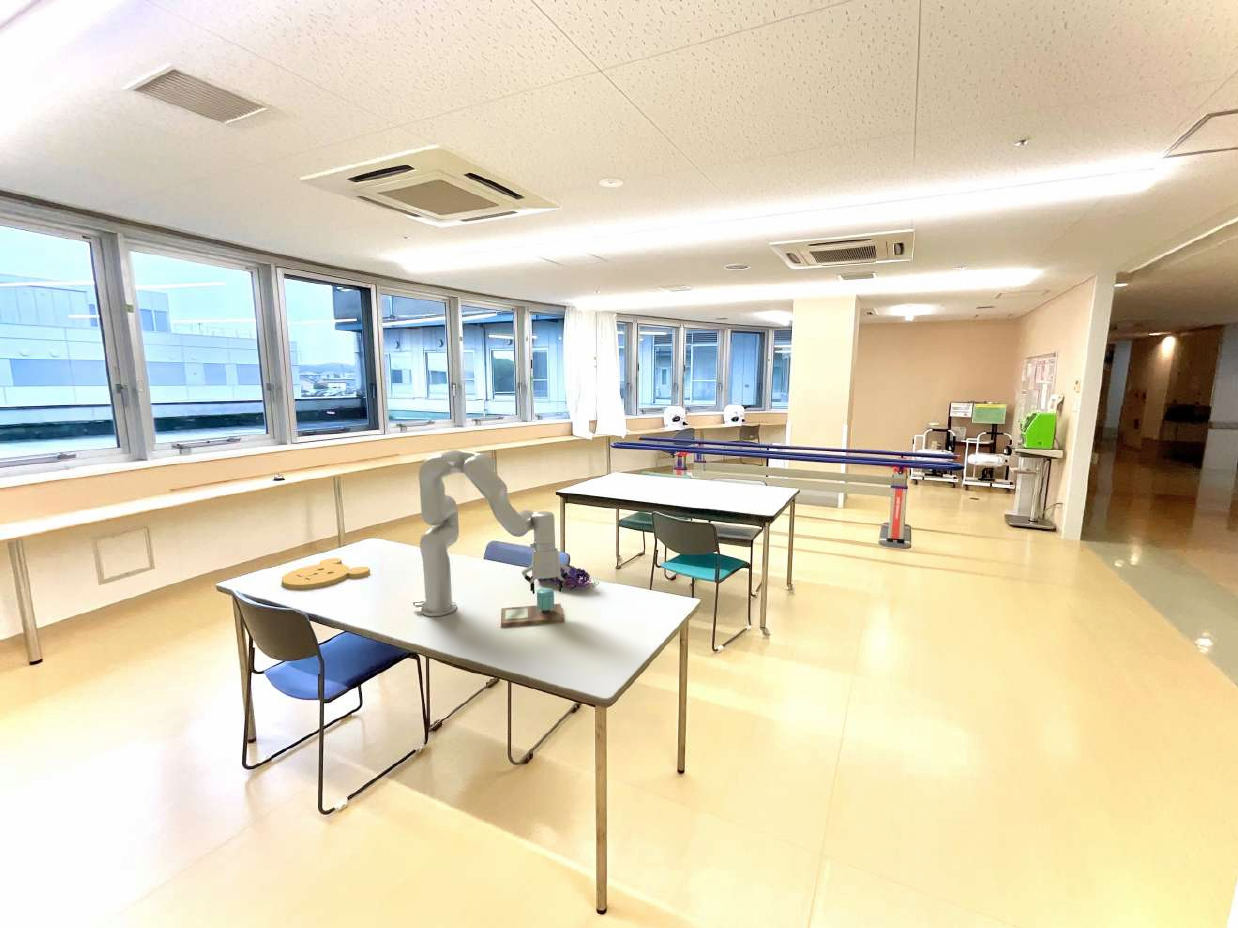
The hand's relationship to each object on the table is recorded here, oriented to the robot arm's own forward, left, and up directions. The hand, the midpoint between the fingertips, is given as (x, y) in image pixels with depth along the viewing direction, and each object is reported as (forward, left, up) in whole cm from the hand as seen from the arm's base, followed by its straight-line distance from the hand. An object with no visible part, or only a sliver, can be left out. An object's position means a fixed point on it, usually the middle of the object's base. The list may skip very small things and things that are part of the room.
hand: (546, 591), depth 195 cm
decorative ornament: (+10, +28, -10) cm, 32 cm away
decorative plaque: (-95, +59, -10) cm, 112 cm away
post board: (-6, 0, -9) cm, 11 cm away
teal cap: (-1, 0, -6) cm, 6 cm away
